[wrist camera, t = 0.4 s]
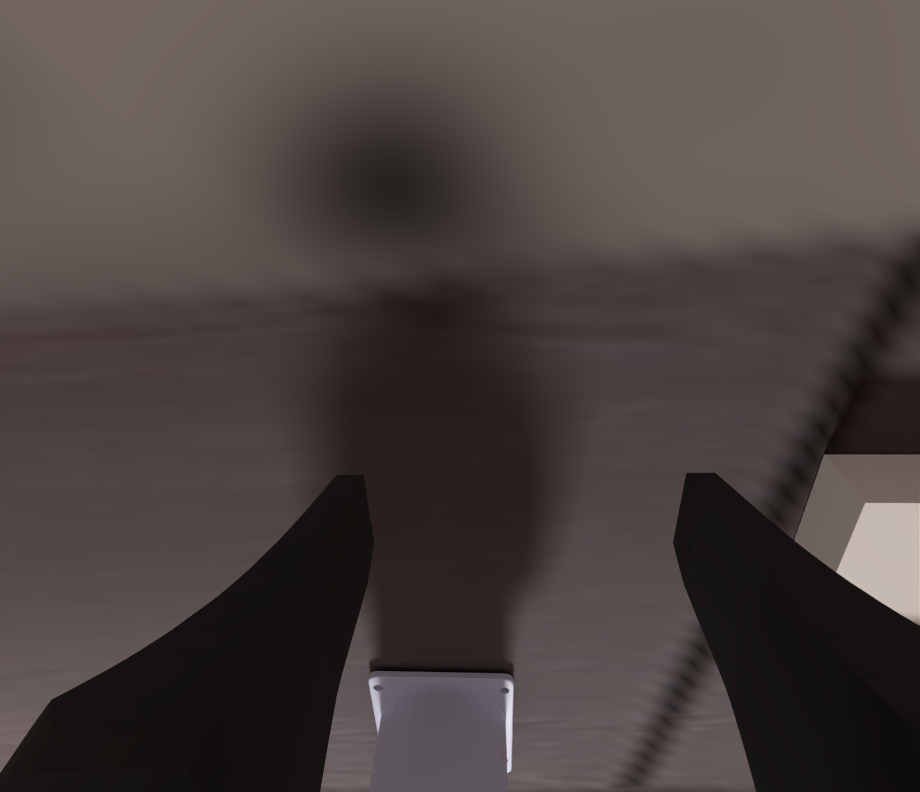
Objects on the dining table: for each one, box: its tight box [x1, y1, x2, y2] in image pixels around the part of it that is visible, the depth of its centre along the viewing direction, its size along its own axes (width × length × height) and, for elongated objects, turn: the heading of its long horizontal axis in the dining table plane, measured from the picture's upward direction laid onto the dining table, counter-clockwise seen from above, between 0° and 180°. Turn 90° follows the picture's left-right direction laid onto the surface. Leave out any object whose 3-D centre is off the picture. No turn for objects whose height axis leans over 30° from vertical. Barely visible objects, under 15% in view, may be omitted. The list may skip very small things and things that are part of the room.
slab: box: [794, 454, 920, 625], centre depth 24 cm, size 7×7×3 cm
